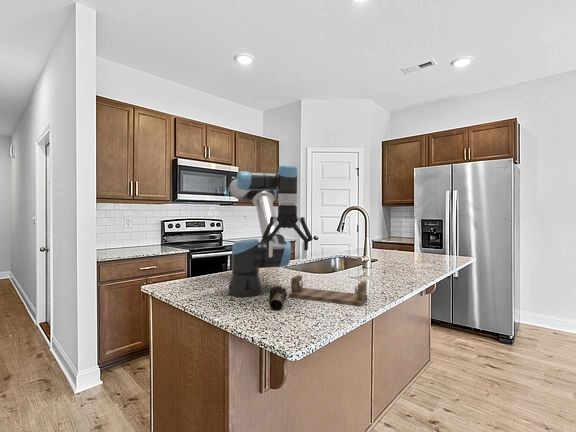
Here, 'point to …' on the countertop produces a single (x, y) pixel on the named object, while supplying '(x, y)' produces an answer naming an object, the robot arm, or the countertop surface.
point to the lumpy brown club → (277, 297)
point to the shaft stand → (328, 293)
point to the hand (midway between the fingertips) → (287, 257)
